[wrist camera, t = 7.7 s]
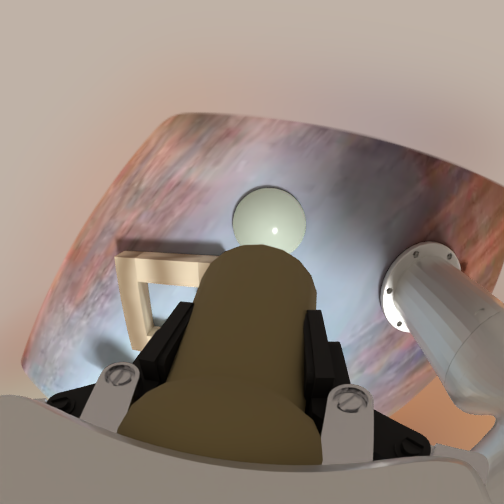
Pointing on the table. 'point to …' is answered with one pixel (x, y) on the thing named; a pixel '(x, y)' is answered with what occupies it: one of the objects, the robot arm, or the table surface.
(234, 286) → the cork
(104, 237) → the table surface
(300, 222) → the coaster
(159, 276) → the holder board
